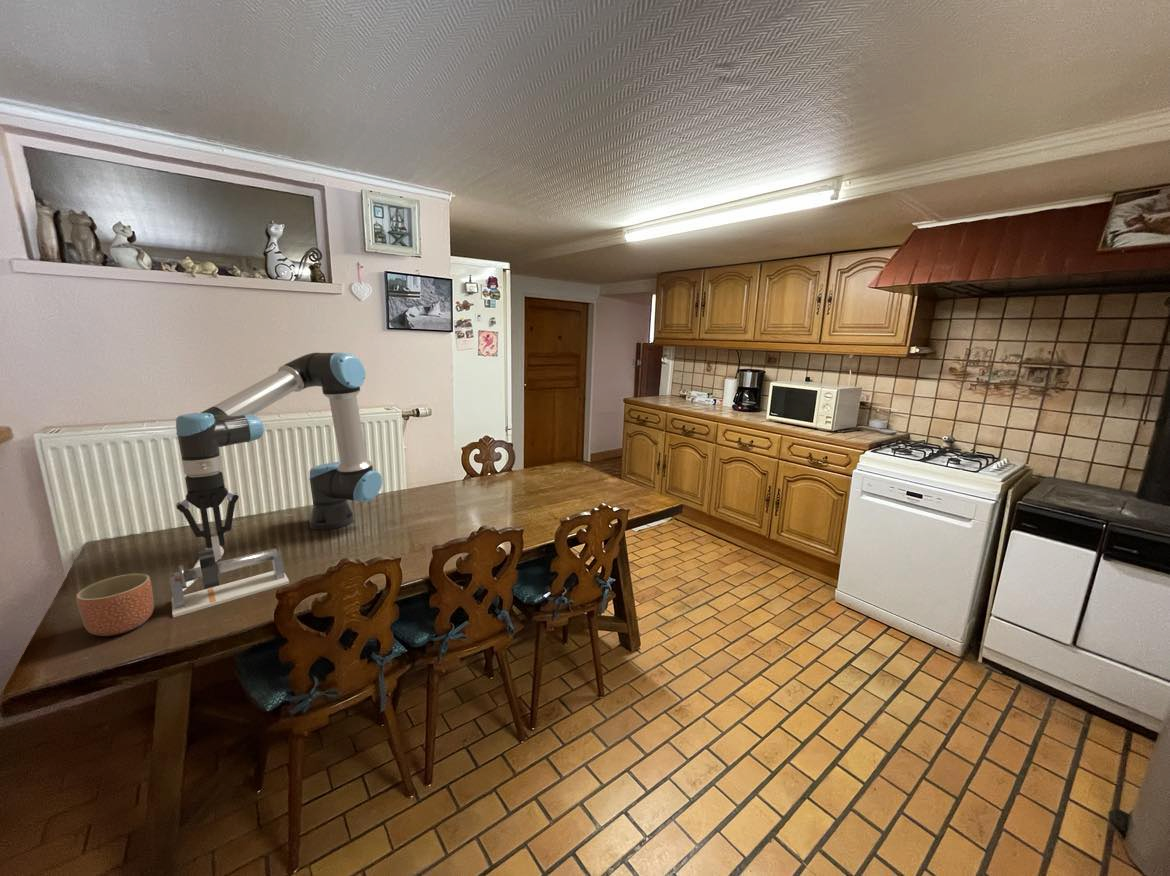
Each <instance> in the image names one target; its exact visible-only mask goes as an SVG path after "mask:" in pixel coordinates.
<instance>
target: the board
mask: <svg viewBox="0 0 1170 876" xmlns="http://www.w3.org/2000/svg"><path fill="white" fill-rule="evenodd" d="M284 575H285V578H281V579H278V580H277V579H276V577H275V576H274V570H271V571H267V572H265V573H264V572H263V573H261V574H260V573H259V574H257V575H254V576H249V577H246V578H243V579H238V580H234V581H231V582H227V583H224V584H219V586H215V587H212V588H208V589H205V588H204V589H201V590H198V591H194V592H191V593H187V594H183V595H184V600H185V606H183V607H180V608H176V609H175V607H174V602H173V597H172V598H171V611H172V612H171V613H172V618H176V617H179V616H183V615H187V614H191V613H194V612H197V611H200V610H203V609H207V608H210V607H214V606H217V605H220V604H224V603H228V602H231V601H234V600H238V599H241V598H244V597H247V596H252V595H255V594H258V593H262V592H265V591H269V590H271V589H275V588H279V587H282V586H284V585H288V584H290V580H289V577H288V576H287V575H286V573H285V572H284Z"/></svg>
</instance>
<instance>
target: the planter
mask: <svg viewBox="0 0 1170 876" xmlns="http://www.w3.org/2000/svg"><path fill="white" fill-rule="evenodd" d="M75 598H76V599H75V601H76V604H77V605H76V606H77V607H78V611H79V614H80V616H81V620H82V624H83V625H84V628H85V630H86V631H87V632H88V633H90V634H91V635H95V636H100V637H113V636H117V635H122V634H125V633H129V632H130V631H134V630H135V629H137V628H139V627H140V626H142V625H143V624H144V623H145V622H147V620H149V618H150V617H151V616H152V614H153V612H154V608H155V601H154V595H153V587H152V581H151V577H150V575H148V574H146V573H137V572H136V573H128V574H121V575H117V576H116V575H115V576H111V577H109V578H104V579H102V580H99V581H96V582H93V583H92V584H90V585H87V586H86V587H85V586H84V587H83V588H82V589H80V590H78V592H77V593H76V595H75Z"/></svg>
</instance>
